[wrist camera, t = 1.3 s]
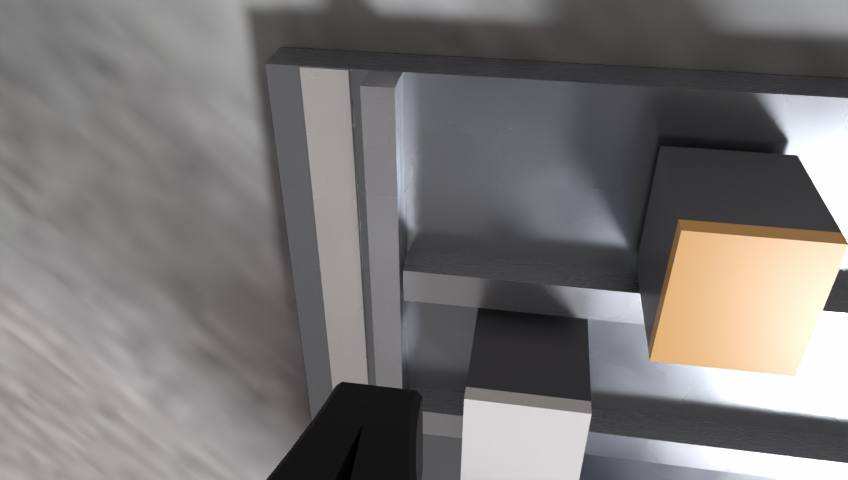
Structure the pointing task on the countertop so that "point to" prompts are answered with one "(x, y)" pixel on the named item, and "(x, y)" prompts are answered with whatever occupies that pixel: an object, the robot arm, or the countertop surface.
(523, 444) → the block
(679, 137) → the panel
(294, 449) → the robot arm
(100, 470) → the countertop surface
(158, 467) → the countertop surface
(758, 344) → the block
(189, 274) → the countertop surface
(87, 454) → the countertop surface
